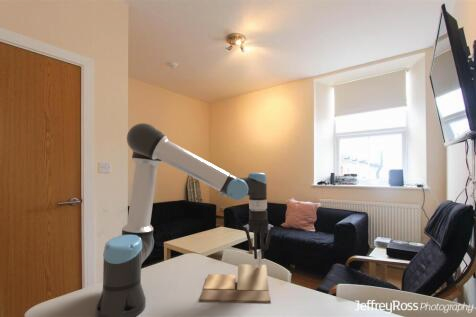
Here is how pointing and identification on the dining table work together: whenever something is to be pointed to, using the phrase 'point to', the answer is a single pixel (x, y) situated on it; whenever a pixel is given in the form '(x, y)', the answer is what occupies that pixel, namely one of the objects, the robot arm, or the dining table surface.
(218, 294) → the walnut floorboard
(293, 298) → the dining table surface
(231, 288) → the striped wooden square slab
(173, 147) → the robot arm
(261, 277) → the square wooden panel
